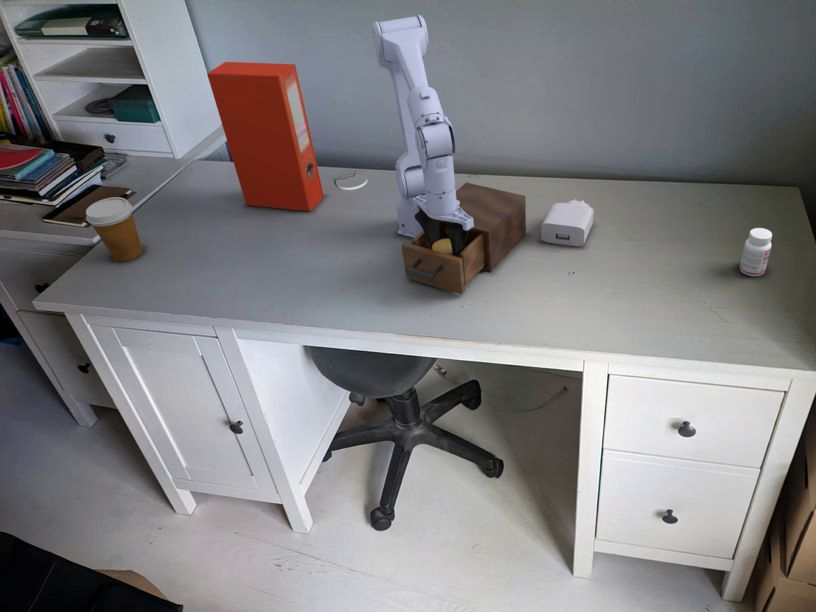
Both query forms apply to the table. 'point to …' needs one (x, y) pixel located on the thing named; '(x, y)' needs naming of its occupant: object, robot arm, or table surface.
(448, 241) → the tin
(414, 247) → the drawer
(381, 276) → the table surface
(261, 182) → the file binder
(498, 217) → the cabinet
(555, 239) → the charger
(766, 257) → the pill bottle
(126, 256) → the disposable coffee cup
